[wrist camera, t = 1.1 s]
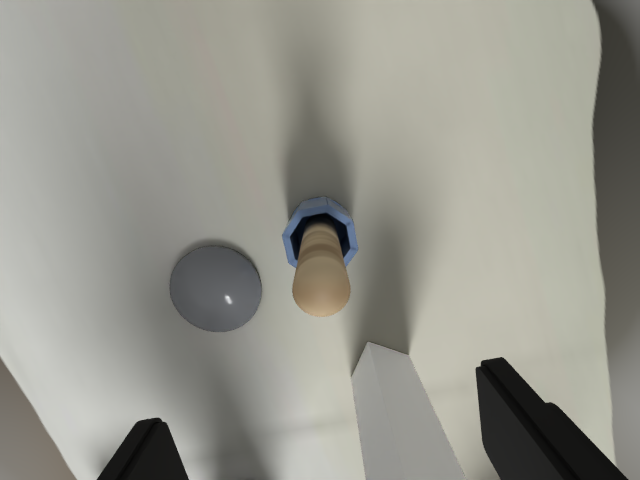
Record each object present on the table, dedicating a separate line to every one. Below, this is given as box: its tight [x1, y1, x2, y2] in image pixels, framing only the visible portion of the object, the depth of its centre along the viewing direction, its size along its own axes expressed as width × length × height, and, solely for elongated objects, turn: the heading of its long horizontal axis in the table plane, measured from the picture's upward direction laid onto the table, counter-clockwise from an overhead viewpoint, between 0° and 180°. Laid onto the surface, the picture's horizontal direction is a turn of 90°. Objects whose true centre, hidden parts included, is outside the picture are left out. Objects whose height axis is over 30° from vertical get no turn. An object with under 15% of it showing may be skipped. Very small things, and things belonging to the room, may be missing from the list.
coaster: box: [170, 246, 262, 332], centre depth 40 cm, size 11×11×1 cm
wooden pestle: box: [292, 214, 350, 317], centre depth 29 cm, size 4×4×18 cm
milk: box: [351, 342, 466, 480], centre depth 32 cm, size 6×6×22 cm
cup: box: [282, 196, 358, 268], centre depth 35 cm, size 7×7×7 cm
